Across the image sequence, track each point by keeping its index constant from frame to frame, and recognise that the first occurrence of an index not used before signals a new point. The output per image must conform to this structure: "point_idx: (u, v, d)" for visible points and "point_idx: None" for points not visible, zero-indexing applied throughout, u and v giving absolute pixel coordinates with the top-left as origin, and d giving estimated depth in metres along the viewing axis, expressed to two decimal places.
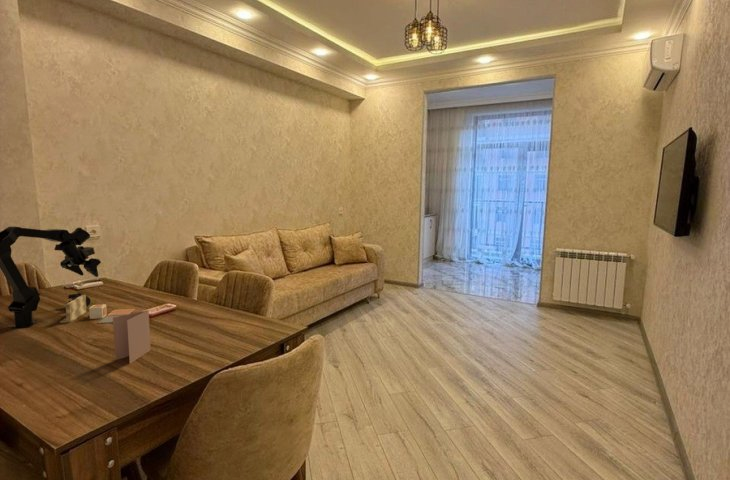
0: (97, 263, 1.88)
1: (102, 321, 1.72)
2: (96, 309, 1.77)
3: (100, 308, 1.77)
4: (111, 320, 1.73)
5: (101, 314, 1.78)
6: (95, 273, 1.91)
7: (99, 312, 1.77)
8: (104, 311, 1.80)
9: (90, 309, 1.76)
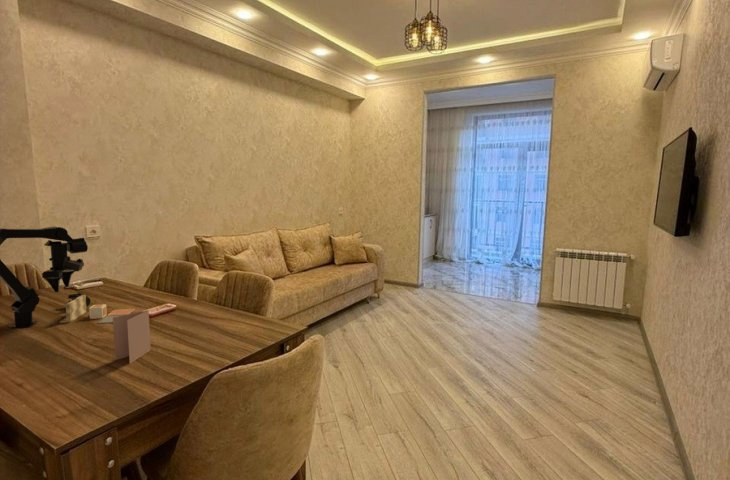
0: (52, 275, 1.68)
1: (102, 321, 1.72)
2: (96, 309, 1.77)
3: (100, 308, 1.77)
4: (111, 320, 1.73)
5: (101, 314, 1.78)
6: (53, 287, 1.72)
7: (99, 312, 1.77)
8: (104, 311, 1.80)
9: (90, 309, 1.76)
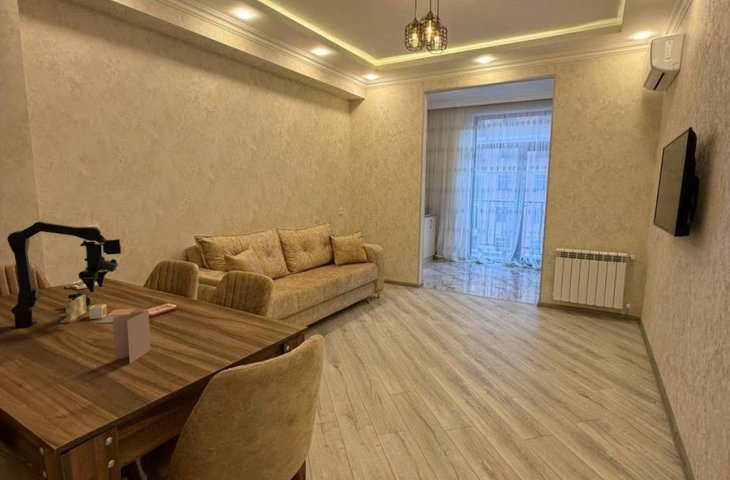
0: (88, 276, 1.68)
1: (102, 321, 1.72)
2: (96, 309, 1.77)
3: (100, 308, 1.77)
4: (111, 320, 1.73)
5: (101, 314, 1.78)
6: (89, 287, 1.72)
7: (99, 312, 1.77)
8: (104, 311, 1.80)
9: (90, 309, 1.76)
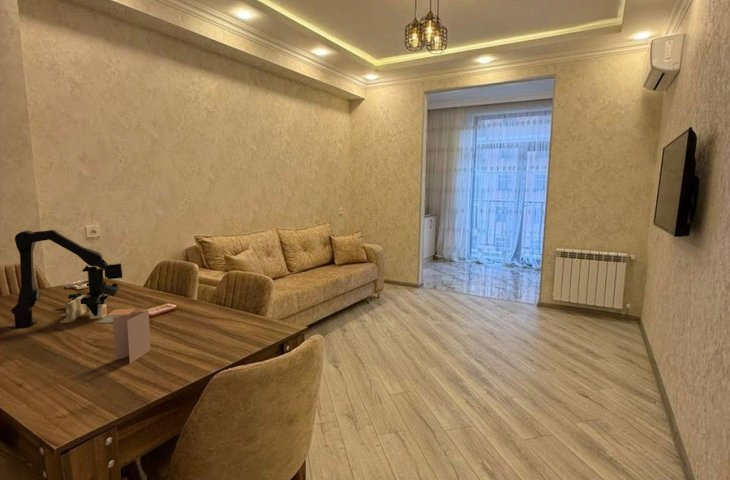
0: (90, 301, 1.70)
1: (102, 321, 1.72)
2: None
3: (100, 308, 1.77)
4: (111, 320, 1.73)
5: (101, 314, 1.78)
6: (92, 311, 1.75)
7: (99, 312, 1.77)
8: (104, 311, 1.80)
9: None
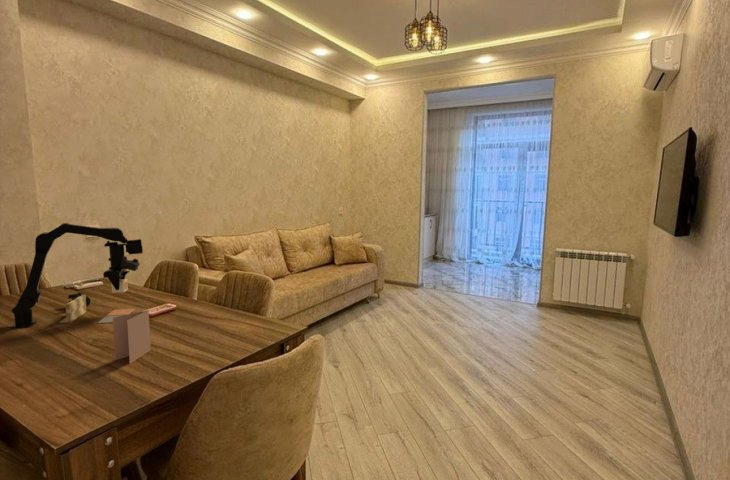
0: (113, 275, 1.74)
1: (102, 321, 1.72)
2: None
3: (122, 282, 1.82)
4: (111, 320, 1.73)
5: (123, 288, 1.82)
6: (114, 285, 1.80)
7: (121, 286, 1.82)
8: (125, 285, 1.84)
9: None
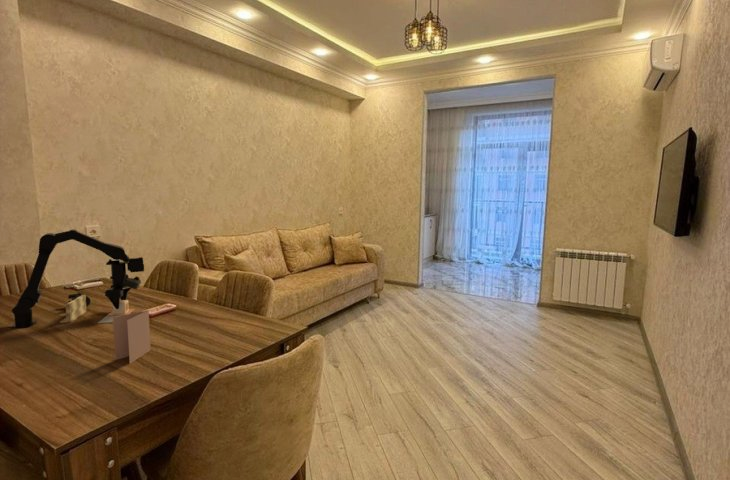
0: (114, 294, 1.75)
1: (102, 321, 1.72)
2: (119, 304, 1.82)
3: (124, 304, 1.83)
4: (111, 320, 1.73)
5: (124, 309, 1.83)
6: (114, 304, 1.79)
7: (122, 307, 1.83)
8: (127, 306, 1.85)
9: None
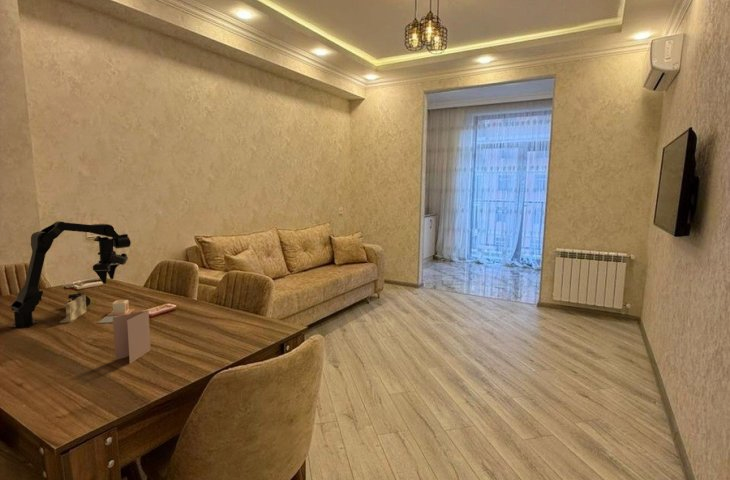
0: (102, 268, 1.84)
1: (102, 321, 1.72)
2: (119, 304, 1.82)
3: (124, 304, 1.83)
4: (111, 320, 1.73)
5: (124, 309, 1.83)
6: (102, 278, 1.88)
7: (122, 307, 1.83)
8: (127, 306, 1.85)
9: (113, 304, 1.82)
